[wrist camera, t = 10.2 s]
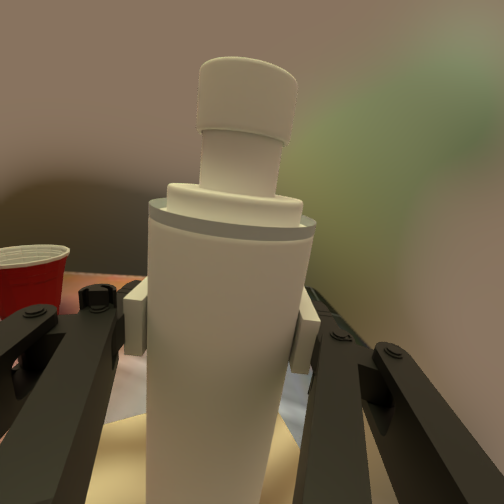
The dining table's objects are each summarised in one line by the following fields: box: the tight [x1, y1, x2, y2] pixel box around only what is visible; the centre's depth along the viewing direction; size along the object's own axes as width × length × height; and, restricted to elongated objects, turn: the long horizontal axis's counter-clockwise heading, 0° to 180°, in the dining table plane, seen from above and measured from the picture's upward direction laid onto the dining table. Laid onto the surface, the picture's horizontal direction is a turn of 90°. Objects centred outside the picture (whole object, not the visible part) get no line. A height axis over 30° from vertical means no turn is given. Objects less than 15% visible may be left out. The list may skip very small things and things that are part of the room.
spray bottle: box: [146, 57, 316, 504], centre depth 12 cm, size 7×7×25 cm
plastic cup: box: [0, 245, 70, 320], centre depth 36 cm, size 11×11×12 cm
